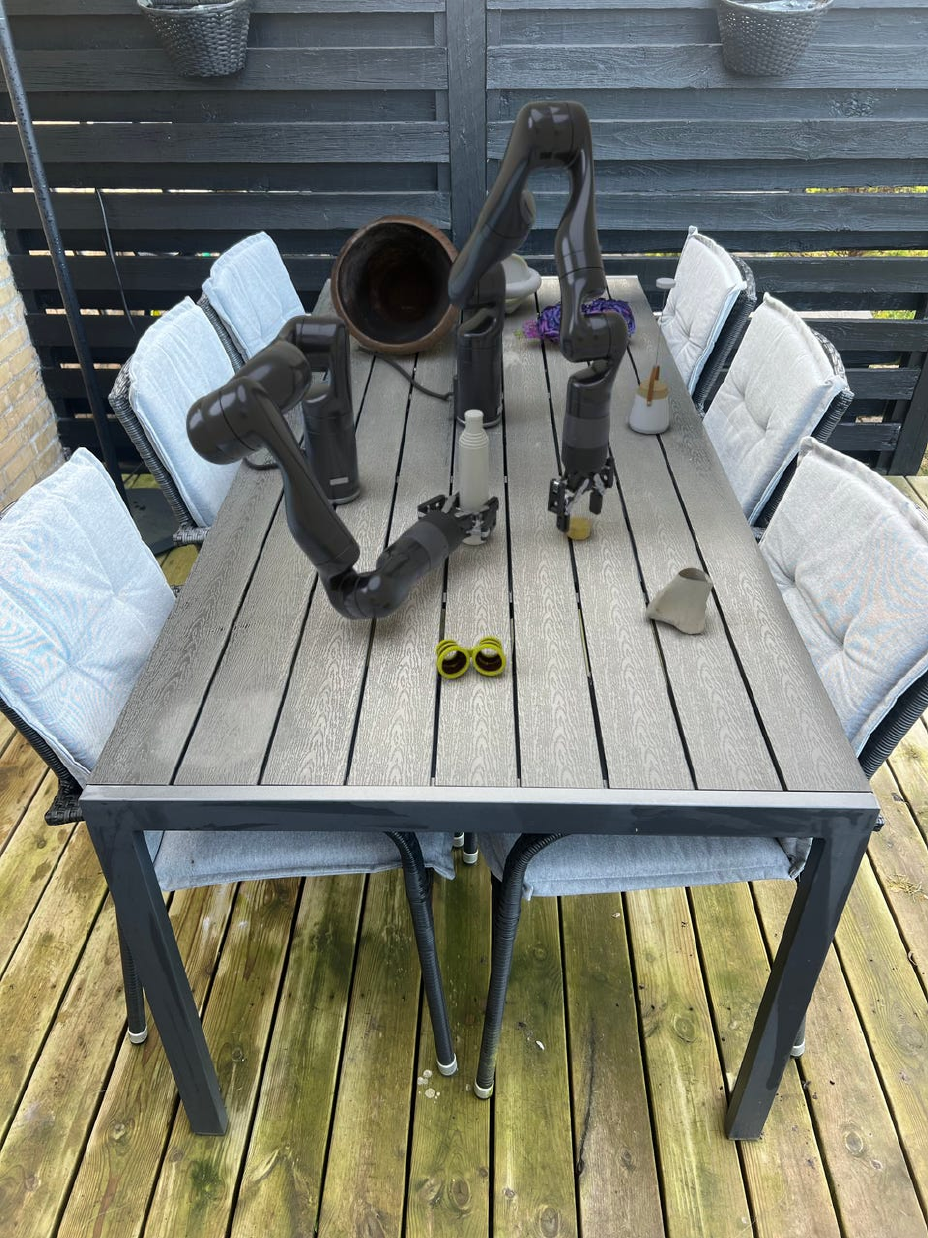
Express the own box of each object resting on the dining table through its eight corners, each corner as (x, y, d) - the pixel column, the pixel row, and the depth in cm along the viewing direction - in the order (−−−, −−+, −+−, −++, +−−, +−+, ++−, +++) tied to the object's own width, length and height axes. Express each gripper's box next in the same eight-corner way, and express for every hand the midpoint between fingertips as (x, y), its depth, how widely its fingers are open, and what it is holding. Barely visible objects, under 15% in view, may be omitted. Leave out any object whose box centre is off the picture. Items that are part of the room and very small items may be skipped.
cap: (562, 530, 163) (563, 519, 162) (582, 525, 164) (583, 515, 163) (573, 541, 160) (574, 531, 159) (593, 536, 161) (594, 526, 160)
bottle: (487, 529, 164) (488, 405, 150) (489, 544, 160) (490, 419, 146) (459, 530, 163) (457, 407, 149) (461, 545, 160) (459, 420, 145)
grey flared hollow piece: (698, 626, 144) (712, 564, 142) (708, 640, 137) (723, 575, 134) (641, 618, 144) (654, 555, 142) (648, 632, 137) (662, 566, 134)
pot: (366, 206, 239) (363, 182, 210) (477, 263, 245) (489, 246, 216) (317, 325, 245) (307, 317, 216) (426, 378, 251) (431, 377, 222)
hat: (455, 295, 261) (454, 240, 252) (532, 292, 263) (534, 237, 254) (465, 327, 242) (464, 268, 233) (548, 323, 244) (550, 264, 235)
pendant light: (664, 436, 191) (684, 289, 173) (625, 431, 193) (640, 285, 175) (671, 420, 197) (691, 276, 179) (633, 414, 199) (649, 272, 181)
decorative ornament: (642, 323, 223) (518, 325, 220) (633, 359, 231) (514, 362, 228) (631, 290, 230) (511, 291, 228) (623, 326, 239) (508, 328, 236)
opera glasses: (501, 660, 136) (501, 629, 134) (506, 678, 131) (506, 646, 129) (435, 664, 136) (434, 634, 133) (438, 682, 131) (436, 651, 129)
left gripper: (465, 535, 143) (519, 488, 154) (389, 511, 149) (446, 467, 160) (466, 575, 147) (518, 526, 159) (392, 550, 153) (447, 505, 165)
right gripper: (596, 415, 157) (589, 499, 167) (538, 442, 149) (534, 528, 159) (631, 429, 153) (621, 514, 163) (574, 458, 145) (568, 545, 155)
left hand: (481, 497), depth 159 cm, fingers closed on bottle, 5 cm apart
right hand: (578, 521), depth 161 cm, fingers open, 8 cm apart
